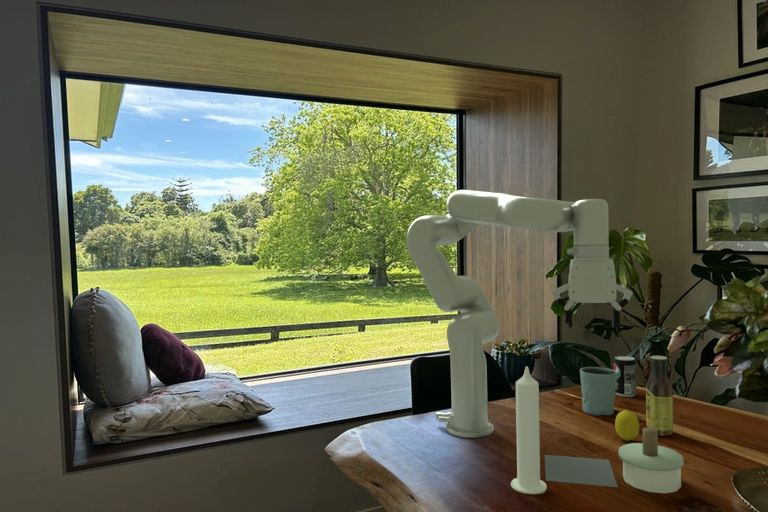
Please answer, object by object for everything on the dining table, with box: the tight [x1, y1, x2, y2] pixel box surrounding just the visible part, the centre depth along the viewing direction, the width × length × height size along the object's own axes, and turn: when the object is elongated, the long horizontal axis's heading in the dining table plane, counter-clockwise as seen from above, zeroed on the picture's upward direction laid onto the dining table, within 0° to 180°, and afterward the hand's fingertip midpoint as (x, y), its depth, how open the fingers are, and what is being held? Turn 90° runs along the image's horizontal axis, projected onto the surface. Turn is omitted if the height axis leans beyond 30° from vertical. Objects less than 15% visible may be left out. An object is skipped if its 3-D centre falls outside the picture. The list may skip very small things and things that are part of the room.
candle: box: [510, 366, 548, 495], centre depth 110 cm, size 7×7×25 cm
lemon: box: [614, 409, 640, 442], centre depth 134 cm, size 6×6×8 cm
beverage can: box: [613, 355, 638, 398], centre depth 174 cm, size 7×7×12 cm
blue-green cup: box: [579, 366, 617, 416], centre depth 158 cm, size 10×10×12 cm
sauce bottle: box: [645, 355, 674, 437], centre depth 139 cm, size 6×6×20 cm
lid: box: [618, 427, 684, 471], centre depth 111 cm, size 12×12×6 cm
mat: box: [544, 454, 619, 488], centre depth 118 cm, size 14×14×1 cm
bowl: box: [622, 460, 682, 494], centre depth 111 cm, size 10×10×5 cm
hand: (592, 327), depth 125 cm, fingers open, 9 cm apart
